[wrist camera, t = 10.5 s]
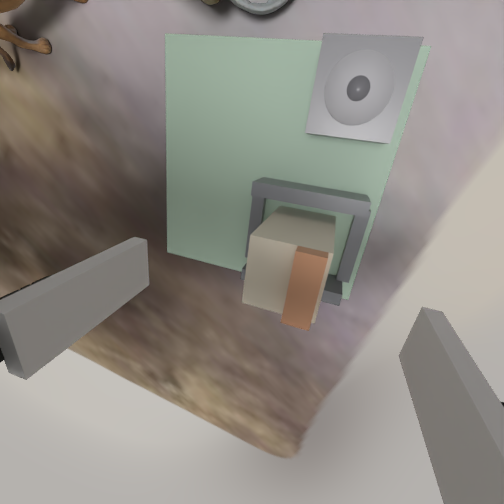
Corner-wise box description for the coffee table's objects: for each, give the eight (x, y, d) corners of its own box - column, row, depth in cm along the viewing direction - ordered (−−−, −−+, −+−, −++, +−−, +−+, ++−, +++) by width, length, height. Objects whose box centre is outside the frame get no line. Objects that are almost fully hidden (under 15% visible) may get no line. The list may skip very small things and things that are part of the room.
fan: (309, 134, 19) (303, 132, 16) (326, 50, 17) (323, 29, 14) (382, 144, 18) (391, 143, 15) (409, 55, 16) (426, 33, 13)
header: (246, 263, 24) (234, 277, 22) (257, 175, 21) (245, 180, 19) (345, 288, 22) (345, 307, 20) (374, 196, 19) (379, 204, 17)
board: (173, 248, 28) (167, 252, 27) (174, 39, 21) (164, 33, 19) (347, 292, 24) (347, 299, 23) (425, 52, 16) (431, 46, 15)
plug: (280, 205, 21) (245, 239, 14) (336, 216, 20) (333, 259, 13) (271, 255, 23) (237, 309, 15) (322, 267, 22) (313, 332, 14)
